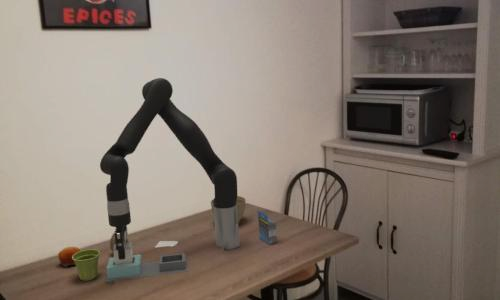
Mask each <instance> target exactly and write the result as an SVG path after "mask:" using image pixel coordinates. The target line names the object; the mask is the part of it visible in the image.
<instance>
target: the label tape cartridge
mask: <svg viewBox="0 0 500 300" xmlns="http://www.w3.org/2000/svg"><path fill="white" fill-rule="evenodd" d="M257 218H258V233H259V234H258V235H259V237H258V238H259V239H261V240H262V241H263V242H265V244H268V245H272V244H273V245H274V244H277V224H276V223H275V222H273V221H272V220H270V219H269V217H268V215H267V214H265V213H263V212H262V211H260V210H257Z"/></svg>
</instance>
